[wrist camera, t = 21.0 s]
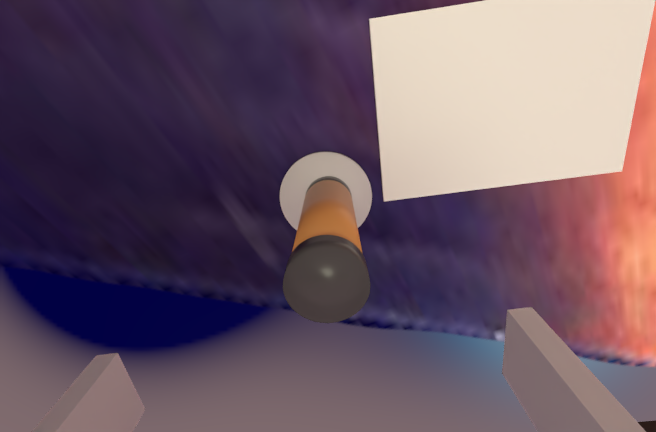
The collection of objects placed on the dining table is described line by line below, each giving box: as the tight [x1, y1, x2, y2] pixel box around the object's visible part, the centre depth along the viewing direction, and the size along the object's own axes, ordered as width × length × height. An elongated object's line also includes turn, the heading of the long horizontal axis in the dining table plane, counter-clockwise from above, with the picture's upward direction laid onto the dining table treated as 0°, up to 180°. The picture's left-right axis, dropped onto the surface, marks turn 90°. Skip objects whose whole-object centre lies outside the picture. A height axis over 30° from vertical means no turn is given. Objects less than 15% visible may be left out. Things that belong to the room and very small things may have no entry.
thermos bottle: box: [283, 176, 370, 323], centre depth 22 cm, size 4×4×14 cm
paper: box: [369, 0, 655, 201], centre depth 26 cm, size 20×14×1 cm
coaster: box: [280, 151, 372, 230], centre depth 29 cm, size 8×8×1 cm
